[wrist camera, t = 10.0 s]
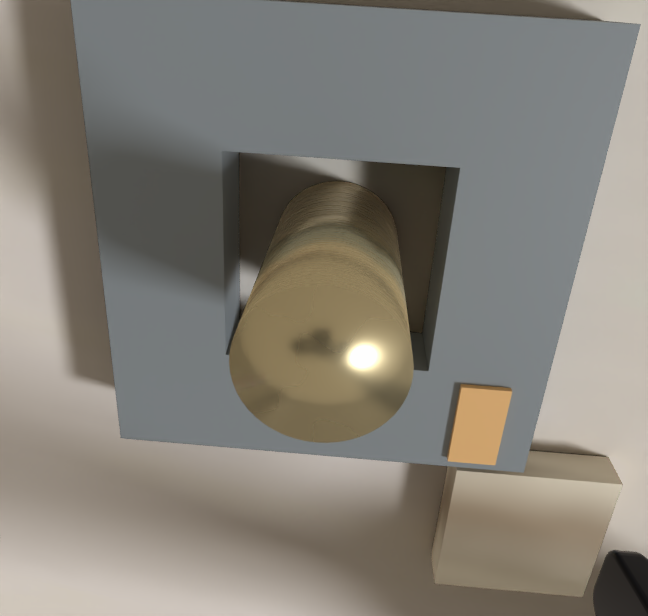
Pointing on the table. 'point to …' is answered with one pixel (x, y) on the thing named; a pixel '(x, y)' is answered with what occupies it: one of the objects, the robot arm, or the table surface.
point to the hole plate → (348, 144)
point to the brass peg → (326, 320)
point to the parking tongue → (525, 524)
